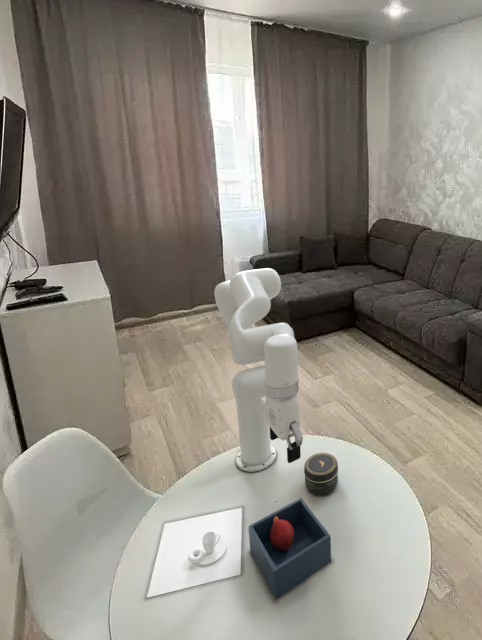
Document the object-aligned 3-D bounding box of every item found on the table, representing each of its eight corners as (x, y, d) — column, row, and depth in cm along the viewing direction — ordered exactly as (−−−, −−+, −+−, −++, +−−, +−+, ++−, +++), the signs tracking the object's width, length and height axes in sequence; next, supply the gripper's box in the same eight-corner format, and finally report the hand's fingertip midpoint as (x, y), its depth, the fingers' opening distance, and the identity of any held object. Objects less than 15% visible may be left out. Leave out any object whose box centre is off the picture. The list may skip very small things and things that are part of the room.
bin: (250, 551, 103) (248, 526, 101) (302, 521, 111) (301, 497, 110) (275, 599, 91) (273, 571, 90) (331, 561, 100) (330, 535, 98)
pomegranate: (291, 550, 98) (277, 517, 101) (273, 561, 99) (259, 528, 102) (303, 538, 104) (288, 507, 106) (285, 548, 105) (271, 517, 107)
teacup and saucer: (187, 570, 98) (185, 556, 97) (191, 541, 105) (190, 528, 104) (226, 561, 100) (224, 547, 99) (227, 533, 107) (226, 520, 107)
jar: (323, 468, 130) (323, 447, 129) (345, 485, 124) (344, 463, 122) (298, 485, 123) (297, 463, 122) (319, 504, 117) (318, 481, 115)
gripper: (253, 375, 102) (256, 435, 106) (283, 410, 88) (286, 477, 93) (281, 366, 106) (283, 424, 110) (314, 398, 93) (315, 462, 97)
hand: (285, 448), depth 101 cm, fingers open, 9 cm apart
